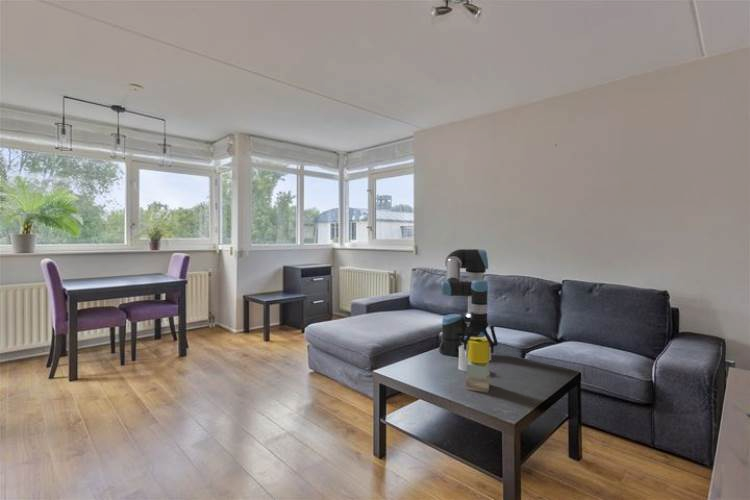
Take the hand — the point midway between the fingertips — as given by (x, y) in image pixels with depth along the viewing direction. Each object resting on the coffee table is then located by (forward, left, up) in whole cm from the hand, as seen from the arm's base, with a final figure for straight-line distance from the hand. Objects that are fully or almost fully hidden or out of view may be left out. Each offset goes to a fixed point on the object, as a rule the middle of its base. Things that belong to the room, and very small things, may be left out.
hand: (478, 357), depth 179 cm
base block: (0, 0, -14) cm, 14 cm away
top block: (0, 0, -8) cm, 8 cm away
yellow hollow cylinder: (0, 0, -1) cm, 1 cm away
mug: (-20, -9, -14) cm, 26 cm away
